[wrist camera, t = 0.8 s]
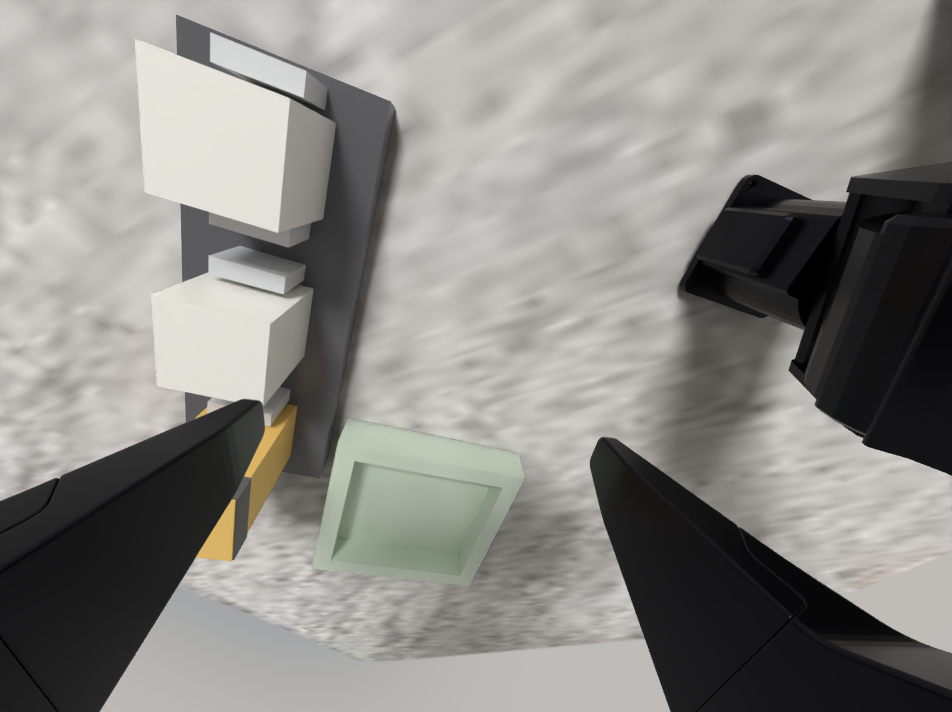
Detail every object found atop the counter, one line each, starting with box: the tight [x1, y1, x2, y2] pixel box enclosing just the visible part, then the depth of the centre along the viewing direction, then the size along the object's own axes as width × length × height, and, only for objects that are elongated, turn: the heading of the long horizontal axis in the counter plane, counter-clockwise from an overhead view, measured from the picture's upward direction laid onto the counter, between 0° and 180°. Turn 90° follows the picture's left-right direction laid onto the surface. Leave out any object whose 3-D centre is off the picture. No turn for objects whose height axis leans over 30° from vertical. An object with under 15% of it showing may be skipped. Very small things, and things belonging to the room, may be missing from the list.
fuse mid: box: [151, 273, 313, 407], centre depth 16 cm, size 4×4×5 cm
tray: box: [312, 418, 525, 586], centre depth 26 cm, size 12×12×2 cm
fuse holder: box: [176, 15, 395, 478], centre depth 18 cm, size 8×22×4 cm, turn 161°
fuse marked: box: [195, 404, 297, 561], centre depth 18 cm, size 4×4×7 cm
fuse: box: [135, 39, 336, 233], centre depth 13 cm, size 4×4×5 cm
